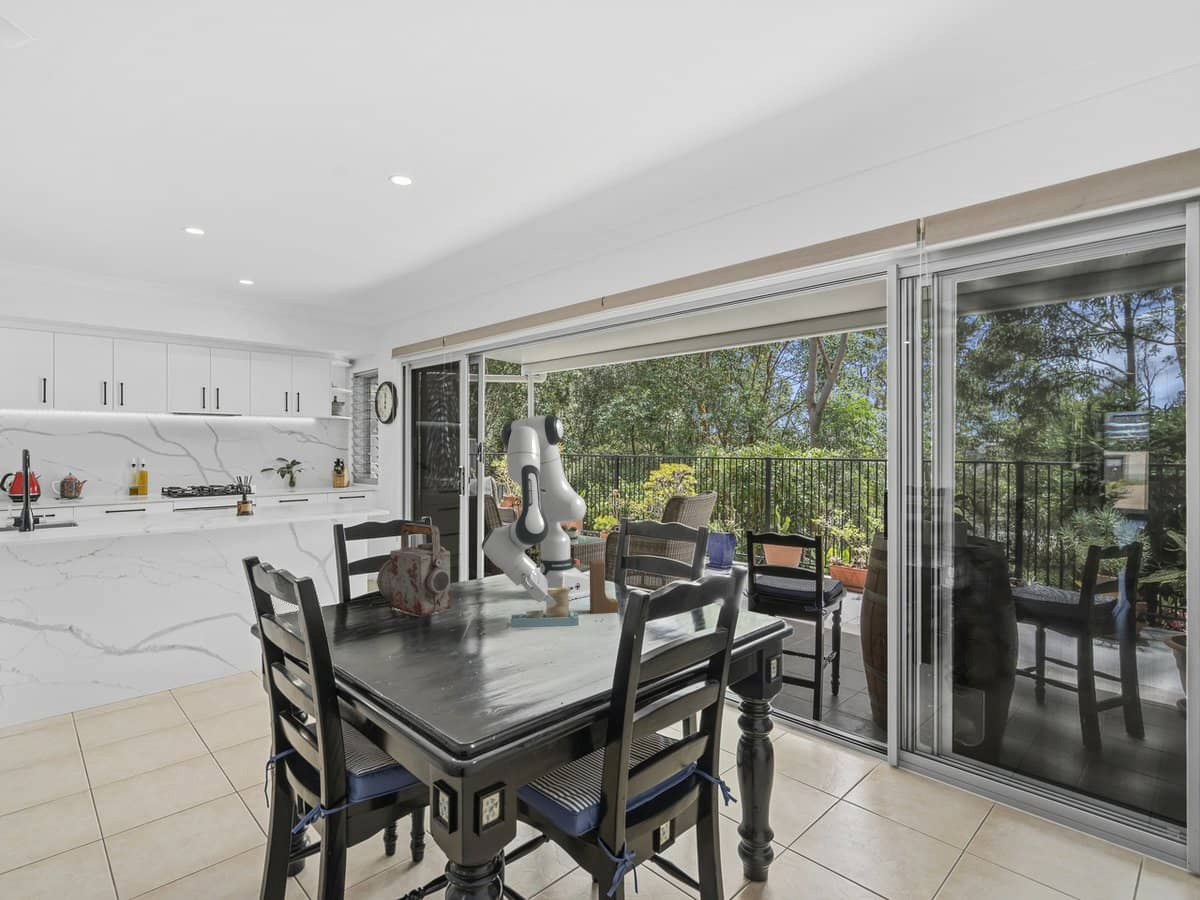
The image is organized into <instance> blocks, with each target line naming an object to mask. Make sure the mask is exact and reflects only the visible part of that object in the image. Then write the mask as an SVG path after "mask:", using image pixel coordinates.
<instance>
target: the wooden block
mask: <svg viewBox="0 0 1200 900" xmlns="http://www.w3.org/2000/svg"><path fill="white" fill-rule="evenodd" d="M589 583H590V596H589V612H590V613H591V614H592V615H597V614H598V615H600V614H619V602H618V600H617V599H616V598H611V597H608V596H607V594H606V563H605V561H604V560H601V559H600V560H590V561H589Z"/></svg>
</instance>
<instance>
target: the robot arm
mask: <svg viewBox="0 0 1200 900" xmlns="http://www.w3.org/2000/svg"><path fill="white" fill-rule="evenodd" d="M563 437H564V426H563V423H562V420H561V419H560V418H559V417H558V416H557V415H552V414H547V415H536V416H529V417H526V418H521V419H516V420H515V419H514V420H510V421H507V422H506V423H505V424H504V425H503V427H502V429H501V439H502V442H503V445H504V447H506V448H507V453H506V454H507V455H506V469H507V475H508V477H509V478H510V479H511V481H513V482H514V483H516V484H519V485H520V489H521V491H520V493H521V496H520V497H521V512H520V514H519V516H518V518H517V519H516V520H514V521H512V522H511V523H509V524H506V525H504V526H503V525H502V526H499V527H493V528H492V529H491V530H490V531H489V532H488V533H487V534H486V535H485V537H484V538H483V540H482V543H481V550H482V551H483V553H484V555H485V556H487V559H489V560H490V561H491V563H493V564H494V565H495V566H496V567H497V568H499V569H501V570H502V571H503V573H504V574H505V576H507V578H508V579H509V580H510V581H511V582H512V583H513V584H515V586H517V587H518V586H520V585H522V587H523V588H524V589H525V591H526V592H527V593H528V594H529V595H531V597H532V598H533V599H534V600H535V601H536V602H538V603H542V602H543V601H544V602H547V603H549V604H550V605H551V606H552V607H554V606H555V605H556V601H555V600H554V599H553V598H551V597H550V596H549V594H548V593H547V590H548V588H568V589H569V601H571V600H572V599H573V600H576V599H575V598H577V599H581V598H584V597H585V596H586V597H590V578H589V577H588V576H587V575H586V574H585V573H583V572H582V571H580V570H579V569H578V568H577V567H576V566H575V565H577V566H579V564H580V562H581V561H580V559H577V558H572V556H571V538H570V536H569V535H568V533H567V532H565V530H563V528H562V526H561V523H564V524H571V523H575V522H576V523H577V522H581V520H583V518H584V517H585V515H586V512H587V504H586V501H585V499H584V498H583V497H582V496H581V495H579V494H578V493H577V492H576V491H575V490H574V489H573V487H572V486H571V485H570V483H569V481H568V479H567V478H566V475H565V470H564V467H563V463H562V459H561V455H560V450H559V446H558V444H559V443H560V442H561V441H562V439H563ZM542 489H543V490H544V492H543V491H542ZM539 543H540V555H541V556H540V559H539V560H540V561H539V568H538V564H537V563H536V562H534V561H533V560H532V559H531V558H530V556H528V555H527V554H526V550H527V549H529V548H531V547H533V546H535V545H537V544H539Z"/></svg>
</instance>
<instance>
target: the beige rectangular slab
mask: <svg viewBox="0 0 1200 900" xmlns="http://www.w3.org/2000/svg"><path fill="white" fill-rule="evenodd" d="M547 593H548V594H549V596H550V597H551V598H553V599H554V600H555V601H556V605H555V606H554V607H552V606H551V605H550V604H549V603H547V602H546V603H545V604H546V605H545V606H546V607H545V608H546V609H545V610H546V613H545V614H546V618H553V617H569V613H570V611H569V610H570V609H569V608H570V603H569V602H570V600H569V589H568V588H548V590H547Z"/></svg>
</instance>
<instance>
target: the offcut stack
mask: <svg viewBox="0 0 1200 900" xmlns="http://www.w3.org/2000/svg"><path fill="white" fill-rule="evenodd" d="M525 614H526V617H524V618H543V614H544V610H526V611H525Z"/></svg>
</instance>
